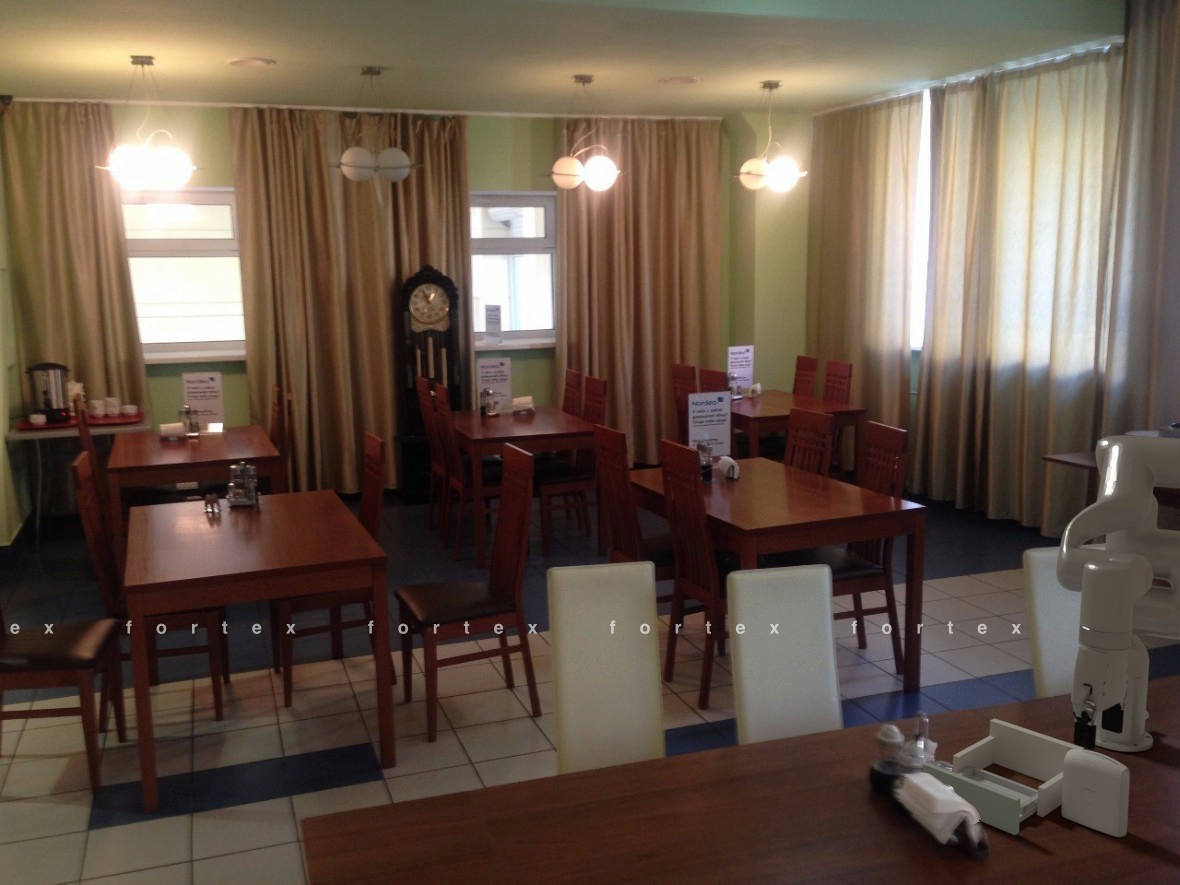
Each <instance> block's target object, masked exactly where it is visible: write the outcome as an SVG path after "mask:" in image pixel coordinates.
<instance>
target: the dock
mask: <svg viewBox="0 0 1180 885" xmlns="http://www.w3.org/2000/svg"><path fill="white" fill-rule="evenodd" d="M1071 749H1081V750H1085V748H1084V747H1081V746H1078V745H1075V744H1074V743H1070V742H1068V741H1064V740H1061V739H1059V738H1055V737H1052V736H1049V735H1046V734H1042V733H1041V732H1040V733H1039V732H1037V731H1034V730H1031V729H1029V728H1025V727H1021V726H1019V725H1016V724H1012V723H1010V722H1007V721H1004V720H1000V719H997V718H995V717H994V718H993V719H991V720H989V735H988V736H987V737H985V738H983V739H981V740H980V741H977V742H976V743H974V744H972V745H970V746H968V747H966V748H964V749H962V750H961V751H959V752H957V753H955V754H953V755H952V756H953V757H952V772H954V773H956V774H958V773H960V772H962V771H964V770H965V769H967V768H969V767H971V766H974V767H977V768H980V769H982V770H984V769H985V768H987V767H988V766H991V765H992V764H996V765H999V766H1000V767H1003V768H1007V769H1009V770H1012V771H1014V772H1017V773H1020V774H1022V775H1025V776H1028V777H1031V778H1034V779H1036V780H1039V781H1041V782H1044V783H1043V784H1041V785H1039V786H1038V787H1037V790H1038V803H1037V812H1036V815H1037V816H1039V817H1041V818H1043V817H1045V816H1046V815H1048V814H1049V813H1051V812H1053V811H1054V810H1055V809H1057V808H1058V807H1060V806H1062V789H1063V768H1064V759H1065V756H1066V753H1067V752H1068V751H1070V750H1071Z"/></svg>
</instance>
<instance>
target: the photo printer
mask: <svg viewBox="0 0 1180 885" xmlns="http://www.w3.org/2000/svg"><path fill="white" fill-rule="evenodd" d="M1130 776H1131V773H1130V769H1129V768H1128V767H1127V766H1126V765H1124V764H1123V763H1121V762H1119V761H1118V760H1116V759H1115V758H1112V757H1110V756H1108V755H1105V754H1103V753H1100V752H1096V751H1093V750H1090V749H1084V750H1081V749H1071V750H1070V751H1068V752H1067V753H1066V756H1065V759H1064V768H1063V789H1062V804H1061V816H1062V818H1065V819H1066V820H1069V821H1071V822H1075V823H1077V824H1080V825H1082V826H1084V827H1088V828H1090V829H1092V830H1096V831H1097V832H1101V833H1104V834H1107V835H1109V836H1113V837H1116V838H1123V837H1125V836H1126V835H1127V832H1128V831H1127V830H1128V818H1129V817H1128V816H1129V800H1130V799H1129V798H1130V778H1131V777H1130Z"/></svg>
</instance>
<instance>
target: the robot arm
mask: <svg viewBox="0 0 1180 885" xmlns="http://www.w3.org/2000/svg"><path fill="white" fill-rule="evenodd" d="M1095 460H1096V461H1095V462H1096V465H1097V469H1098V470H1097V471H1098V472H1099V476H1100V482H1099V487H1098V492H1097V499H1096V502H1094V503H1092V504H1090V505H1089V506H1087V507H1085V508H1084V509H1083V510H1081V511H1080V512H1079V513H1078V514H1076V515H1075V516H1074V517H1073V518H1072V519H1071V520H1070V521H1069V523H1067V526H1065V529H1064V531H1063V533H1062V537H1061V540H1060V546H1059V550H1058V556H1057V561H1056V579H1057V581H1058V584H1060V586H1061V587H1062V588H1064V589H1065V590H1067V591H1070V592H1077V593H1081V594H1080V595H1081V596H1080V598H1081V600H1080V609H1079V610H1080V613H1079V629H1078V630H1079V631H1078V644H1079V647H1078V652H1077V655H1076V659H1075V665H1074V672H1073V678H1072V688H1071V700H1070V702H1071V703H1072V704H1071V705H1072V710H1073V711H1072V714H1073V722H1074V731H1073V732H1074V733H1073V744H1074V745H1077V746H1080V747H1083V748H1084V749H1086V750H1090V751H1093V750H1095V749H1096V746H1098V747H1101V748H1104V749H1107V750H1113V751H1117V752H1125V753H1127V752H1128V753H1136V752H1138V753H1139V752H1143V751H1144V752H1145V751H1147V750H1149V749H1151V748H1152V747H1153V744H1154V738H1153V736H1152V735H1151V734H1150V733H1149V732H1148V731H1147V730H1145V727H1146V726H1145V725H1146V720H1147V719H1148V718H1149V717H1150V714H1149V712H1148V711H1147V698H1148V697H1147V696H1148V682H1149V669H1150V656H1149V652H1148V650H1147V648H1146V646H1145V644H1144V643H1143V642H1142V641H1141V639H1140V637H1139V636H1138V635H1140V636H1151V637H1156V638H1164V639H1171V640H1180V530H1174V529H1172V530H1171V529H1163V528H1158V512H1159V511H1158V509H1159V503H1158V500H1157V498H1156V496H1155V495H1154V493H1153V492H1154V487H1155V488H1156V487H1157V488H1168V489H1169V488H1172V489H1180V438H1178V437H1177V438H1176V437H1161V436H1146V435H1145V436H1144V435H1129V434H1128V435H1127V434H1126V435H1125V434H1124V435H1123V434H1122V435H1121V434H1119V435H1110V436H1109V435H1108V436H1106V437H1103V438H1101V439H1100V440H1098V442H1097V444H1096V445H1095ZM1104 535H1106V536H1105V546H1104V547H1105V549H1097V548H1089V547H1081V546H1083V545H1084V544H1085V543H1086V542H1088V541H1090V540H1093V539H1094V538H1097V537H1100V536H1104ZM1154 579H1157V580H1164V581H1167V582H1168V583H1169V584H1170V585H1171V587H1165V586H1159V585H1158V586H1157V585H1153V580H1154ZM1088 711H1089V712H1090V715H1089V713H1088Z"/></svg>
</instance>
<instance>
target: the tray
mask: <svg viewBox="0 0 1180 885" xmlns="http://www.w3.org/2000/svg"><path fill="white" fill-rule="evenodd" d="M922 768H923V770H922V771H924V772H926V773H929V774H931V775H933V776H935V777H936V778H937V779H939V780H941V781H942V782H943V783H945V784H947V785H950V786H952V787H953V788H954V790H955V792H956V793H957V794H958V795H959V796H961V797H962V798H964V799H965V800H966V801H968V802H969V803H970V804H972V805H973V806H974V807H975V808H976V810H977V811H978V813H979V815H980V818H981V821H980V822H982V823H985V824H987V825H989V826H992V827H994V828H997V829H999V830H1001V831H1004V832H1006V833H1009V834H1010V835H1013V836H1016V835H1018V834H1019V833H1020V824H1021V822H1023V821H1024V820H1026V819H1028V818H1029V817H1030V816H1032V815H1034V814H1035V813H1037V803H1038V789H1035V788H1033V787H1029V786H1028V785H1025V784H1022V783H1019V782H1017V781H1014V780H1011V779H1008V778H1007V777H1003V776H1000V775H998V774H995V773H993V772H991V771H990V772H989V771H988V770H984V769H980V768H977V767H974V766H971V767H969V768H967V769H965V770H964V771H962V772H960V773H958V774H956V773H954V772H953V771H950V770H949V769H946V768H943V767H940V766H938V765H936V764H933V763H930V762H928V763H926V762H924V763H922Z"/></svg>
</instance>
